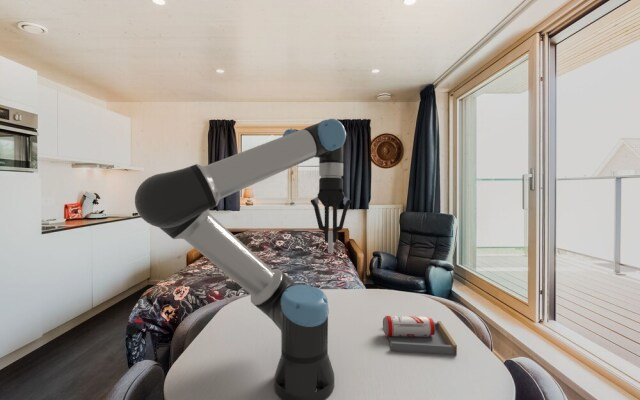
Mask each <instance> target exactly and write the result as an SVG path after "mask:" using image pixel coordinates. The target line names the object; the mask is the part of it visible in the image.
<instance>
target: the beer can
mask: <svg viewBox="0 0 640 400" xmlns="http://www.w3.org/2000/svg"><path fill="white" fill-rule="evenodd" d="M434 322H435V321H434V319H433V318H430V317H428V316H418V315H417V316H416V315H415V316H413V315H407V316H406V315H385V316H384V317H383V318H382V330H383V333H384V335H385V336H387V337H388V336H403V337H429V336H431V335H434V334H435V324H434Z"/></svg>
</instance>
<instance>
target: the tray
mask: <svg viewBox="0 0 640 400" xmlns="http://www.w3.org/2000/svg"><path fill="white" fill-rule="evenodd" d="M434 324H435V334H434V335H431V336H429V337H403V336H387V338H388V342H389V345H390V350H391V351H392V352H400V353H401V352H404V353H418V354H419V353H420V354H435V355H451V356H457V353H458V348H457V347H458V344H457V343H456V342H455V340H454V338H453V337H452V335H451V334H450V333H449V331H448V330H447V329H446V327H445V326H444V324H443V323H442V321H440V320H437V322H435V321H434Z"/></svg>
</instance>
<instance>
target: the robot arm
mask: <svg viewBox="0 0 640 400" xmlns="http://www.w3.org/2000/svg"><path fill="white" fill-rule="evenodd" d="M346 139H347V131H346V129H345V127H344V125H343V123H342V122H341V121H340V120H338V119H335V118H328V119H324V120H321V121H320V122H318V123H315V124H312V125H309V126H307V127H305V128H302V129H296V128H294V129H289V128H287V129H285V131H284V132H283V135H282V136H281V137H277V138H275V139H273V140H269V141H267V142H265V143H263V144H260V145H257V146H255V147H252V148H249V149H247V150H244V151H241V152H238V153H236V154H233V155H231V156H228V157H226V158H223V159H220V160H217V161H215V162H212V163H210V164H207V165H205V166H203V165H202V164H198V163H195V164H192V165H191V166H187V167H185V168H181V169H177V170H173V171H167V172H161V173H157V174H154V175H151V176H149V177H147V178H146V179H145V180H143V182H141V183H140V185H139V186H138V187H137V190H136V192H135V196H134V206H135V209H136V212H137V213H138V215H139V216H140V218H141V219H143V220H144V222H145V223H147V224H149V225H151V226H153V227H156V228H159V229H160V230H162V232H163V233H166V235H167V236H169V237H170V238H171V239H172V240H180V239H181V240H184V241H186V243H188V244H189V245H190V246H192V247H193V248H194V249H195V250H196V251H198V252H199V253H200V254H201V255H202V256H204V257H205V258H206V259H207V260H209V262H211V263H212V264H213V265H214V266H215V267H217V268H218V269H219V270H220V271H222V272H223V273H224V274H225V275H226V276H228V277H229V278H230V279H231V280H233V281H234V282H235V283H236V284H238V285H239V286H240V287H241V288H243V290H245V291H246V292H247V293H248V294H250V302H251V304H252V305H253V306H255V307H256V308H257V309H259V310H260V311H261V312H262V313H263V314H264V315H266V316H267V317H268V318H269V319H270V320H271V321H272V322H273V323H274V324H275V326H276V327H277V328H278V329H279V331H280V333H281V334H280V335H281V337H280V338H281V339H280V340H281V341H280V343H281V347H280V348H281V353H280V356H279V357H280V358H279V360H278V364H277V366H276V370H275V374H274V377H273V379H274V380H273V384H274V385H273V388H274V392H275V394H276V395H277V396H278V397H279V398H280V399H281V400H326V399H328V397H329V396H331V394H332V393H333V391H334V389H335V372H334V369H333V365H332V363H331V359H330V356H329V353H328V350H329V349H328V346H329V343H328V341H329V339H328V338H329V335H328V334H329V312H330V310H329V309H330V308H329V303H328V302H329V301H328V298H327V295H326V294H325V292H324V291H323V290H322V289H320V288H318V287H316V286H310V285H309V284H296V283H295V282H294V281H293V280H291V278H290V277H288V276H287V275H286V274H285V273H284V272H283V271H282V270H281V269H278V268H275V269H271V267H270V266H268V265H267V264H266V263H265V262H264V261H262V259H260V258H259V256H257V254H255V253H254V252H253V251H252V250H251V249H250V248H249V247H247V246H246V244H245V243H243V242H242V241H241V240H239V238H237V237H236V236H235V235H234V234H233V233H232V232H231V231H230V230H229V229H227V227H225V226H224V225H223V224H222V223H221V222H220V221H219V220H218V219H217V218H216V217H214V215H212V214H211V213H210V210H211V209H213V208H215V207H217V206H218V205H219V202H220V201H221V199H223V198H226V197H228V196H230V195H232V194H235V193H237V192H239V191H242V190H244V189H246V188H248V187H251V186H253V185H255V184H257V183H259V182H262V181H264V180H267V179H268V178H271V177H272V176H275V175H278V174H280V173H281V172H285V171H286V170H288V169H291V168H294V167H295V166H297V165H300V164H302V163H304V162H306V161H309V160H311V159H313V158H316V159H317V158H318V161H319V163H318V164H319V165H318V170H319V171H318V174H319V175H318V176H319V179H318V180H319V181H318V184H319V187H318V189H319V190H318V193H317V196H316V197H315V198H313V199H311V200H310V203H311V205H312V207H313V210H314V213H315V214H314V215H315V217H316V222H317V226H318V230H320V231H323V232H324V242H326V243H327V254H333V253H334V243H337V240H338V232H339V231H343V228H344V224H345V219H346V215H347V212H348V208H349V206H350V205H351V203H352V200H351V199H349V198H347V197H346V196H345V194H344V193H345V192H344V179H343V176H344V144H345V142H346ZM342 201H343V202H342ZM341 202H342V203H343V205H344V206H343V209H342V213H341V216H340V221H339V225H338V206H340V204H341ZM319 203H321V204H322V205H323V207H324V224H323V220H322V216H321V211H320V206H319ZM330 208H332V230H330Z"/></svg>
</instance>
